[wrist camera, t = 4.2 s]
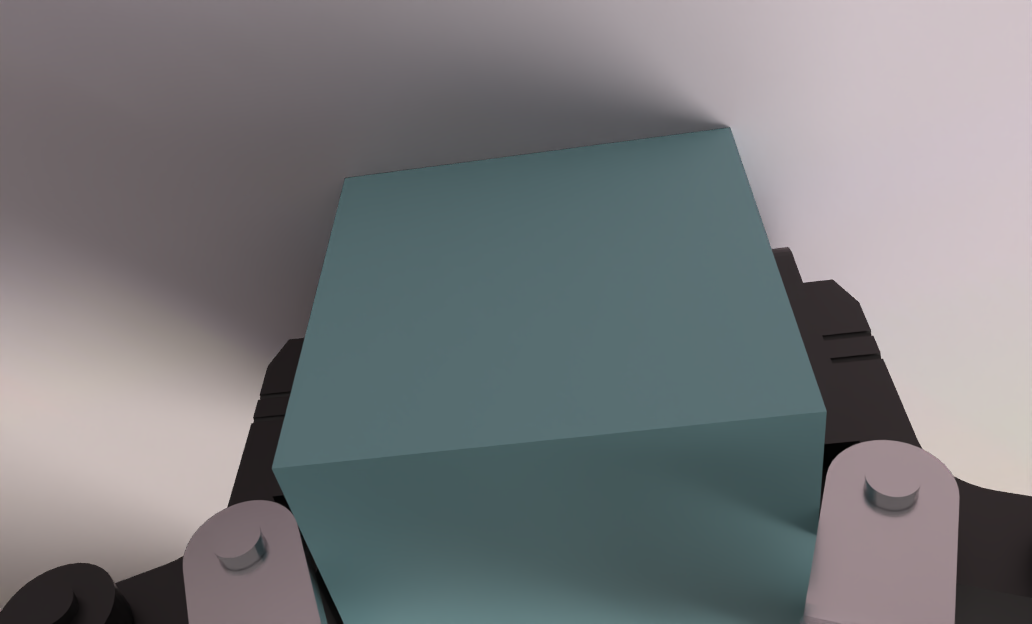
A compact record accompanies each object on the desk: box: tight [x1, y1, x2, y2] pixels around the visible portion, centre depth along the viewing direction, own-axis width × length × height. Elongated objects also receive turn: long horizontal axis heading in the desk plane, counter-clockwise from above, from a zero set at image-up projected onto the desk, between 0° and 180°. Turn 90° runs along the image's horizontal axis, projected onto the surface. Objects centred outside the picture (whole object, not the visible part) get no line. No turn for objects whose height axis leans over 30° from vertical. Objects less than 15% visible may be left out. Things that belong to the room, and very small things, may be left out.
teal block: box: [272, 127, 827, 624], centre depth 12 cm, size 5×5×5 cm
